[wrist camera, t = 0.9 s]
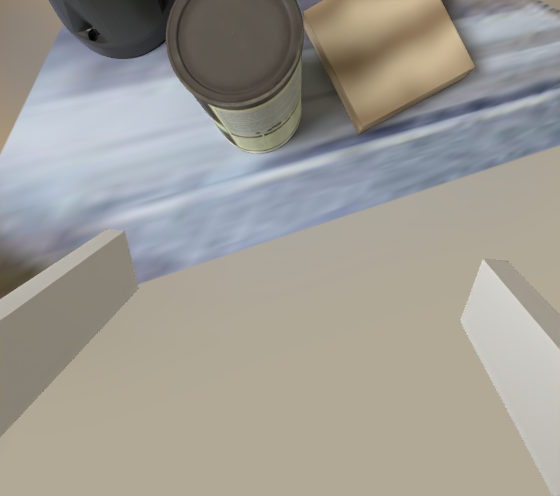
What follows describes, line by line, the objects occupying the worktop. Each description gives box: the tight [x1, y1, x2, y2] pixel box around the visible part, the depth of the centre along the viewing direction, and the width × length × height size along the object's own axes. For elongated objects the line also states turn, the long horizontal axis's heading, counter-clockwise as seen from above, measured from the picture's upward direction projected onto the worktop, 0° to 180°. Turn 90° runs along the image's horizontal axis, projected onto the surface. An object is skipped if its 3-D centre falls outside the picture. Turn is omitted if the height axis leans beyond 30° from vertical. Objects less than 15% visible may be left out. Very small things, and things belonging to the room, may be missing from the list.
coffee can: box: [166, 0, 304, 153], centre depth 30 cm, size 10×10×14 cm
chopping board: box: [303, 0, 475, 134], centre depth 35 cm, size 14×13×2 cm
